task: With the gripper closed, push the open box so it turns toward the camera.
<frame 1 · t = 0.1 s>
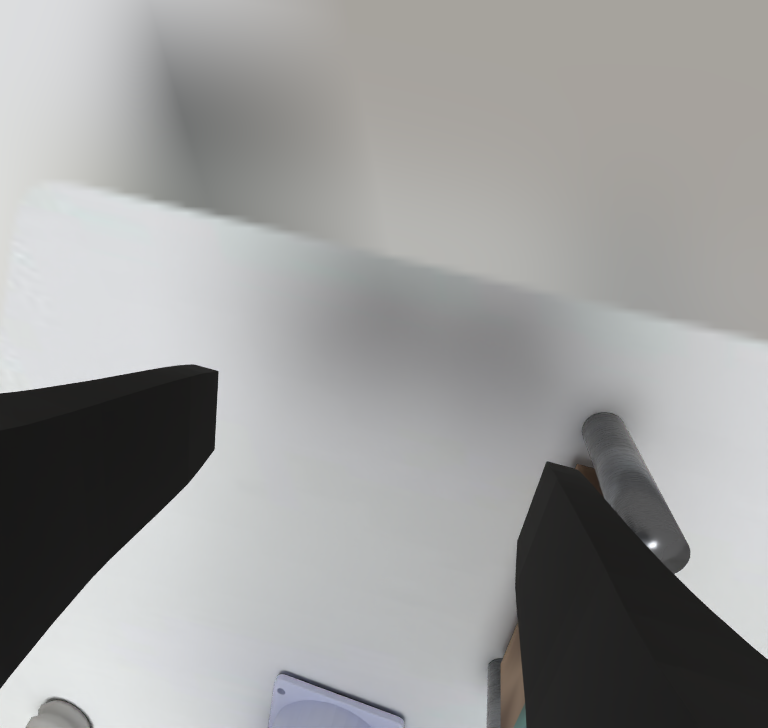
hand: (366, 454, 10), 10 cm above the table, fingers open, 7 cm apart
rook chess piece: (70, 715, 36), on the table
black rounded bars: (503, 670, 25), on the table
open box: (554, 632, 19), point 3 cm above the table, hinge at 0.0°
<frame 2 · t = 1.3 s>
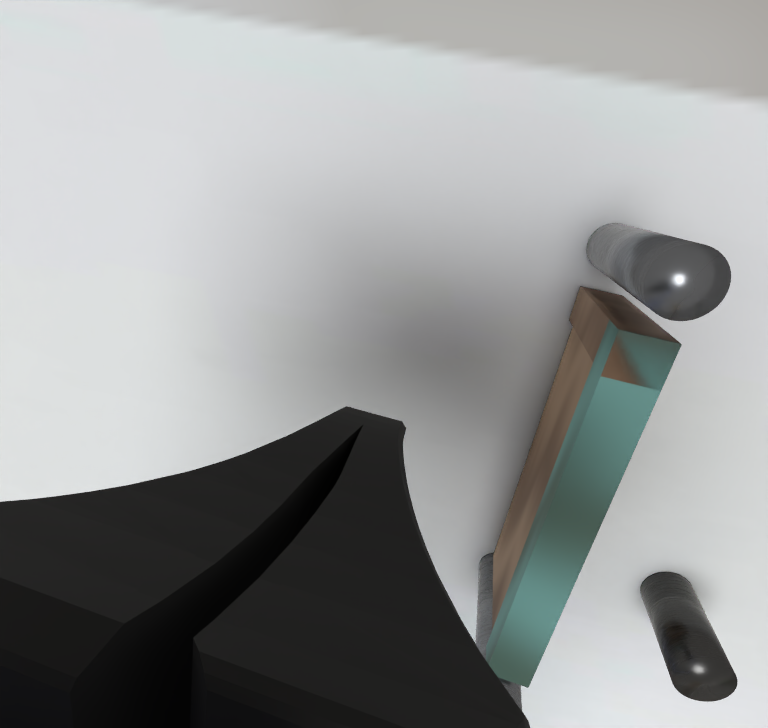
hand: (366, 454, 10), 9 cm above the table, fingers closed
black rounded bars: (497, 567, 22), on the table
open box: (555, 481, 16), point 3 cm above the table, hinge at 0.0°
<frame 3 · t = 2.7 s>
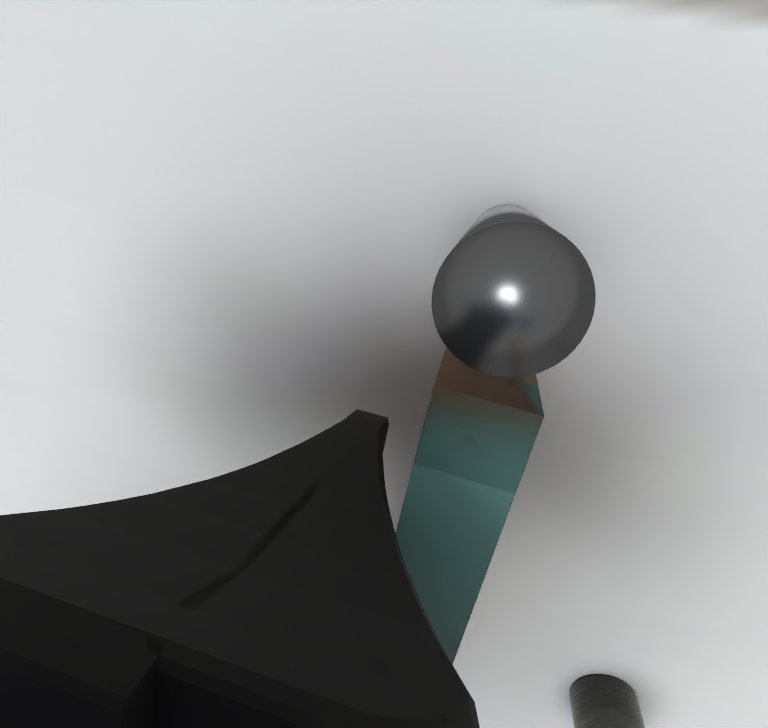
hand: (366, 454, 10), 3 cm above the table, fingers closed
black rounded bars: (389, 656, 17), on the table
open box: (418, 582, 11), point 4 cm above the table, hinge at -0.6°, touching gripper
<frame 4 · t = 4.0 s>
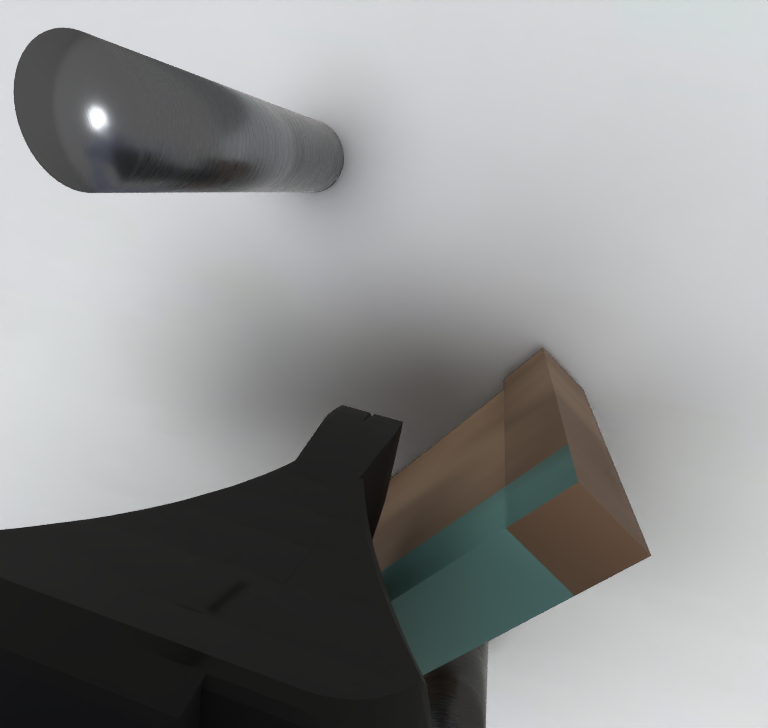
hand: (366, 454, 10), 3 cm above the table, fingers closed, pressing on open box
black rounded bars: (262, 590, 17), on the table
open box: (366, 571, 11), point 3 cm above the table, hinge at -32.6°, touching gripper
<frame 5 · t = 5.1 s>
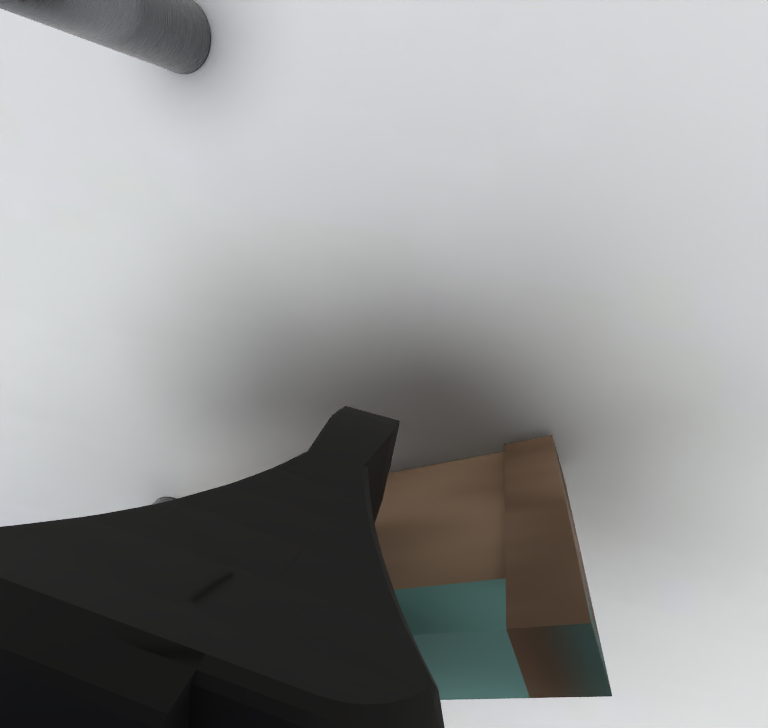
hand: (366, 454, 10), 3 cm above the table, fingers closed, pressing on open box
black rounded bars: (172, 516, 17), on the table
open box: (312, 565, 11), point 4 cm above the table, hinge at -59.5°, touching gripper
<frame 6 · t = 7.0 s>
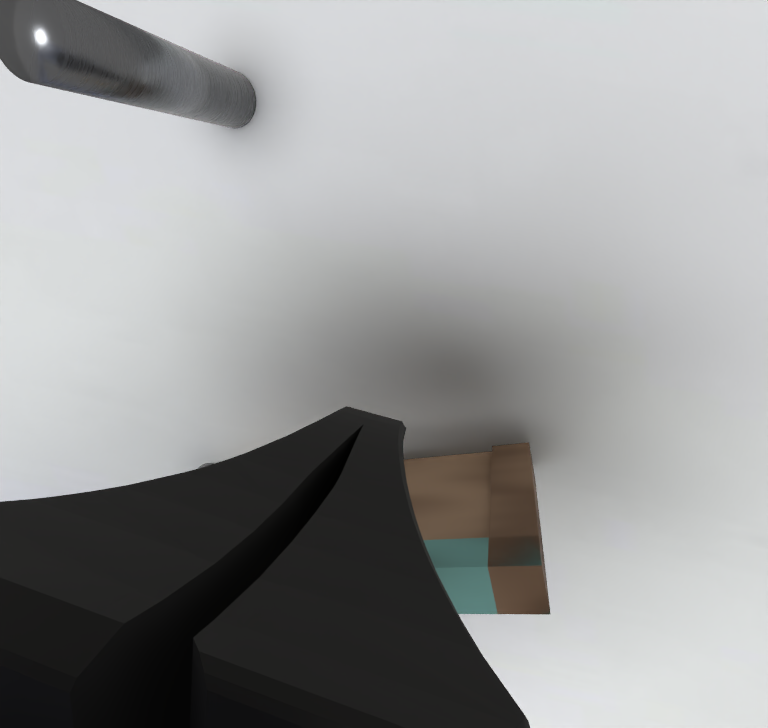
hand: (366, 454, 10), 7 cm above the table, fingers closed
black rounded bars: (213, 479, 20), on the table
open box: (341, 523, 15), point 3 cm above the table, hinge at -65.6°
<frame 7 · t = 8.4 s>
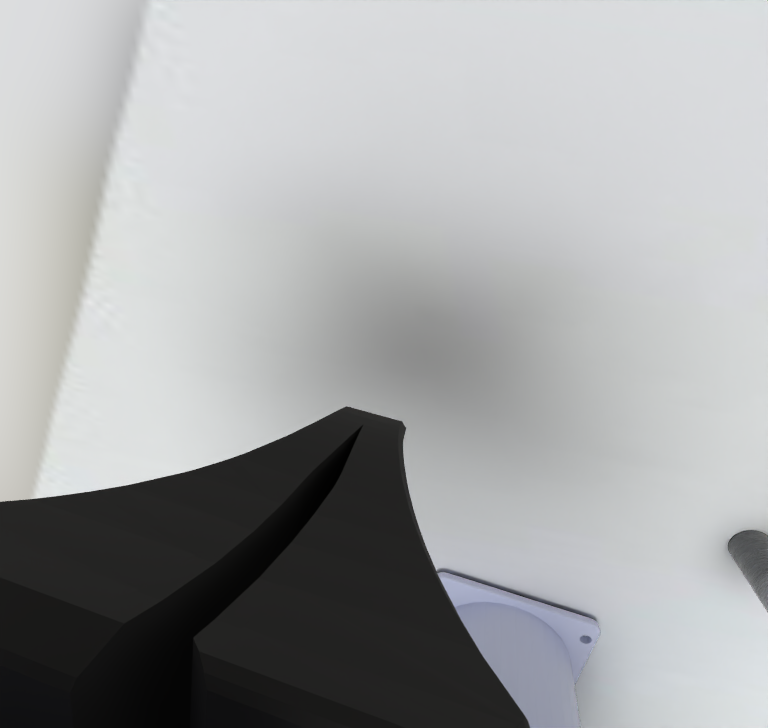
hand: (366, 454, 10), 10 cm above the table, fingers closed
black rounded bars: (750, 546, 20), on the table
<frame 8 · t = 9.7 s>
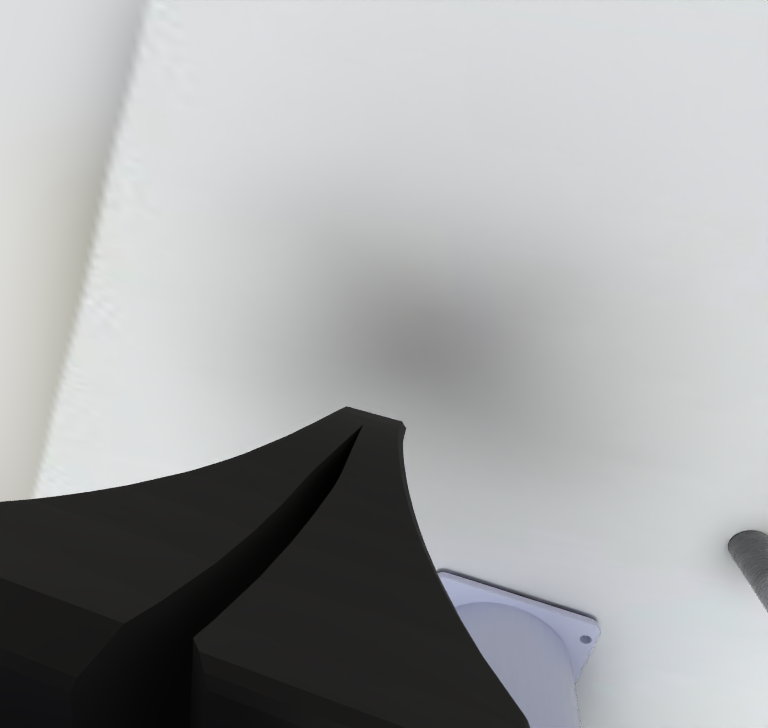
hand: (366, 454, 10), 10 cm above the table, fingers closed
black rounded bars: (750, 546, 20), on the table
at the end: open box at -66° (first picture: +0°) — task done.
